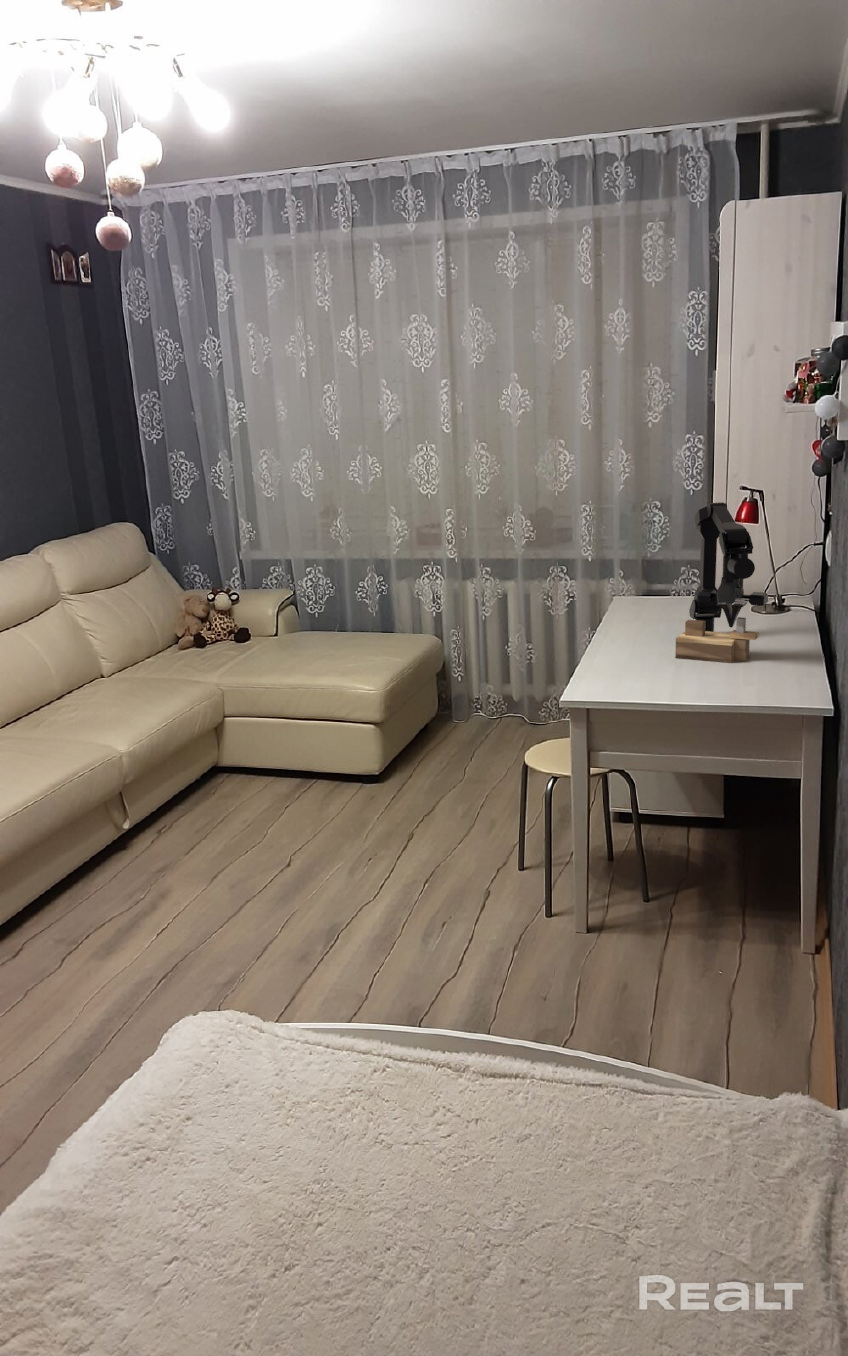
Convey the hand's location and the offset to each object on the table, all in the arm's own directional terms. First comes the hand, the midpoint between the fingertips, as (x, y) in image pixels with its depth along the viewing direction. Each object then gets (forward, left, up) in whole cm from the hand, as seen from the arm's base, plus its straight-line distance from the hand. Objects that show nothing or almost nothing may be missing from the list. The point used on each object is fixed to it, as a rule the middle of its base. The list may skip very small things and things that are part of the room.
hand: (731, 627), depth 301 cm
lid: (0, -6, -4) cm, 8 cm away
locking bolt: (0, +4, -3) cm, 5 cm away
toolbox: (0, -5, -9) cm, 10 cm away
